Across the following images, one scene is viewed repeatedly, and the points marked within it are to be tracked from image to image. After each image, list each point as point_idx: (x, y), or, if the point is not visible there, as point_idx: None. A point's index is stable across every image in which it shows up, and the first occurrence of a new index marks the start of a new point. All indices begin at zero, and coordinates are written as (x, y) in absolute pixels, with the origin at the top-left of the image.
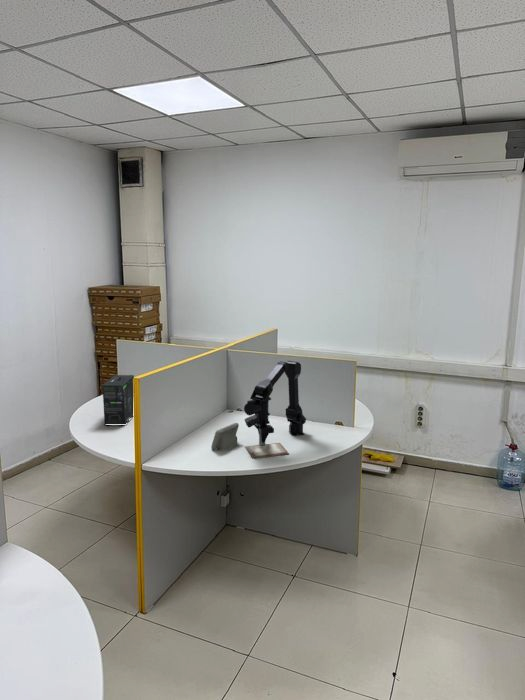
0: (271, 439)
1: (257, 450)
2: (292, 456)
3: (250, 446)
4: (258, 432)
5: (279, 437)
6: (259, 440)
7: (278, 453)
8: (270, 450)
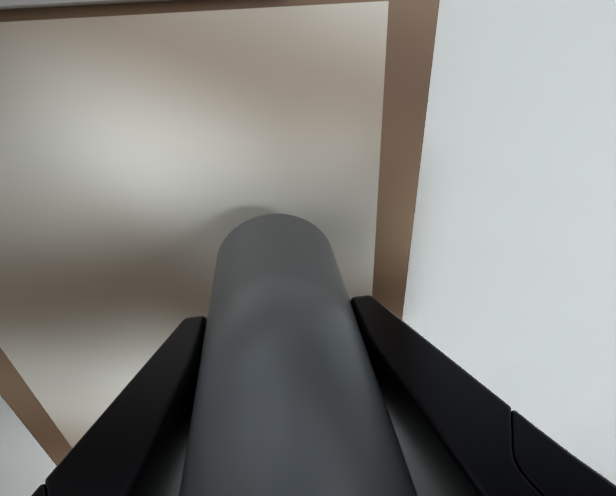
0: (540, 361)
1: (132, 139)
2: (20, 480)
3: (382, 24)
4: (524, 441)
5: (542, 420)
6: (258, 287)
7: (44, 401)
8: (135, 335)
